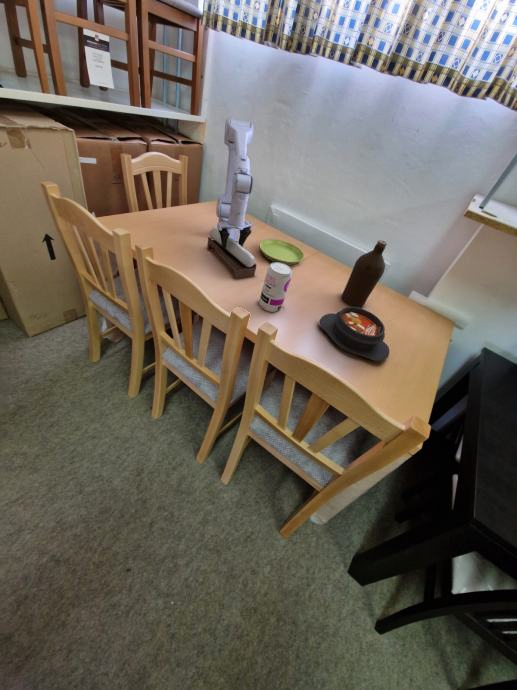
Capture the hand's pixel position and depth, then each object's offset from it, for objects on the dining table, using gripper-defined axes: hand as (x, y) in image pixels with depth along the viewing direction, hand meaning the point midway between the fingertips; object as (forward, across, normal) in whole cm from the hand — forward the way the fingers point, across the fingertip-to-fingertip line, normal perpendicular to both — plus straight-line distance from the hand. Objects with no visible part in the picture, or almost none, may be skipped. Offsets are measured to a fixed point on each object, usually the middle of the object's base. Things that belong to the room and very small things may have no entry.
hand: (232, 246), depth 115 cm
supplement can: (+7, 0, -30) cm, 31 cm away
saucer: (+7, +26, 0) cm, 27 cm away
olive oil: (+7, +36, -38) cm, 52 cm away
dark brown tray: (+7, 0, 0) cm, 7 cm away
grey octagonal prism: (+3, 0, 0) cm, 3 cm away
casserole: (+7, +16, -55) cm, 58 cm away
